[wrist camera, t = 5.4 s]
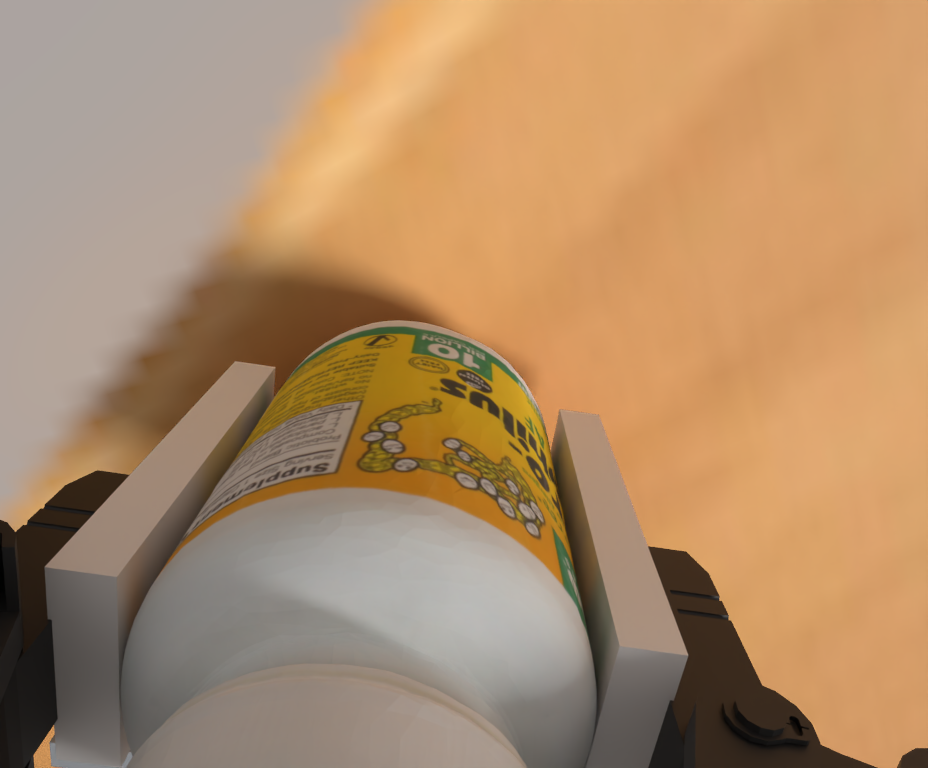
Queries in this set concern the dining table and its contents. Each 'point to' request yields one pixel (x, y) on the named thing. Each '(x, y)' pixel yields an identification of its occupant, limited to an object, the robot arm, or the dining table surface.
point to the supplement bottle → (373, 579)
